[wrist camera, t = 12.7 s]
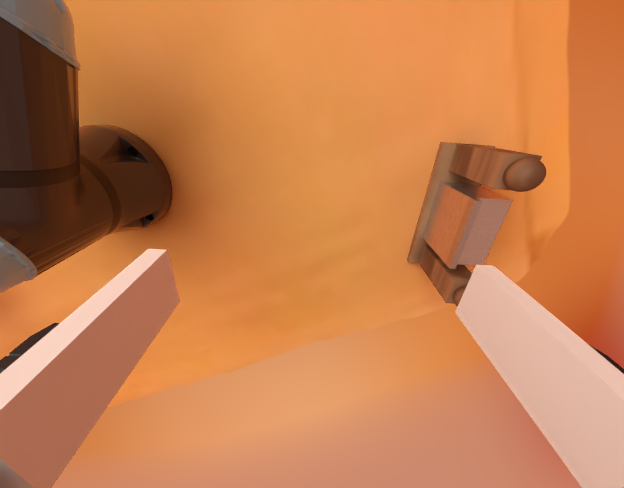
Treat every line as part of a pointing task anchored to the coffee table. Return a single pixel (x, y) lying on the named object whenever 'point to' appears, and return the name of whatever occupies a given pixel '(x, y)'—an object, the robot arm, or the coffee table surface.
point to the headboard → (476, 170)
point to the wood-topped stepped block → (464, 222)
